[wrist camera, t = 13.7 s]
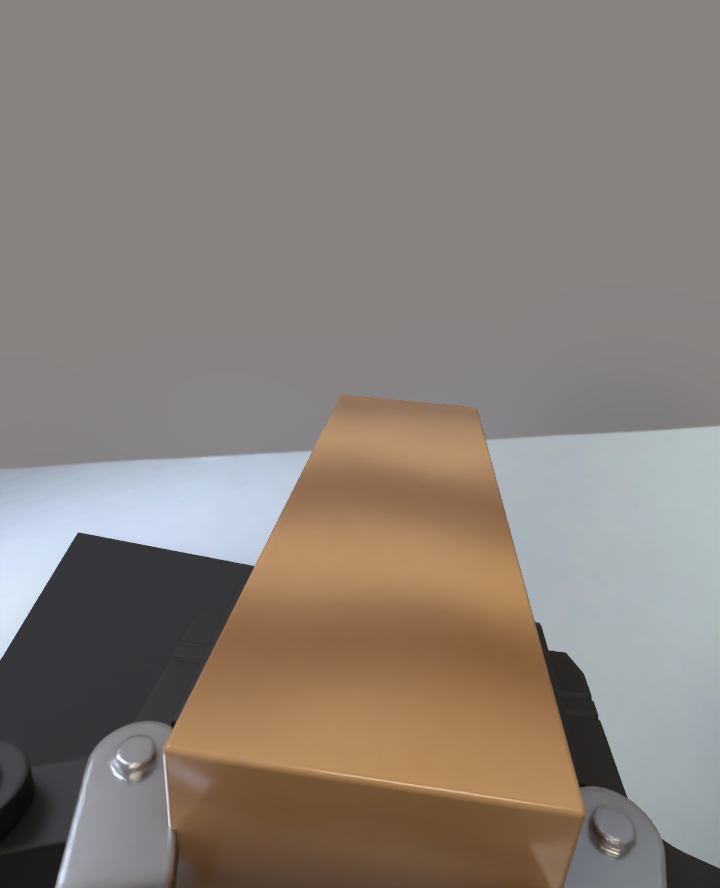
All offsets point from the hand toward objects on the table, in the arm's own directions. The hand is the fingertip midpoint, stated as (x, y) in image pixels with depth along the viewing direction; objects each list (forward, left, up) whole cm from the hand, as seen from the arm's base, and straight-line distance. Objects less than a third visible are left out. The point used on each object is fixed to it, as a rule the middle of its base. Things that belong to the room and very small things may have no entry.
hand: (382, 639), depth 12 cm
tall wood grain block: (-1, +1, -6) cm, 6 cm away
